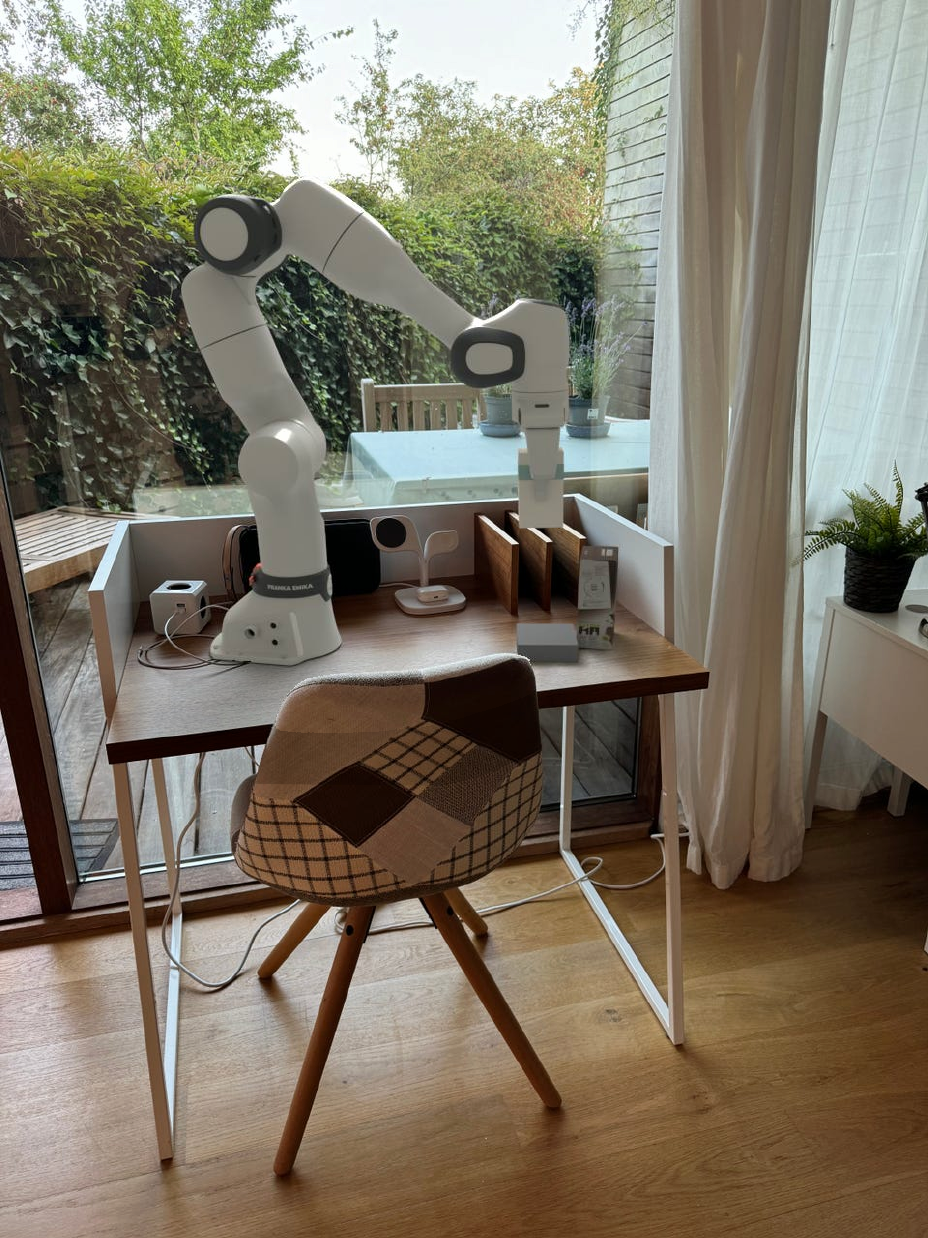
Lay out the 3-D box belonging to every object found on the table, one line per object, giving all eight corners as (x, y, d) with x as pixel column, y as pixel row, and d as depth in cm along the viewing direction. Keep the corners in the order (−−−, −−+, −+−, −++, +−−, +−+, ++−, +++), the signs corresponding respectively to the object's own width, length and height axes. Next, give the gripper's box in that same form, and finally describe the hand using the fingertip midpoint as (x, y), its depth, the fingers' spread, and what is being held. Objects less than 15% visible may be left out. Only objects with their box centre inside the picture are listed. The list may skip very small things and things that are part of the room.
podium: (517, 661, 147) (517, 645, 146) (516, 639, 156) (516, 623, 155) (577, 661, 146) (578, 645, 145) (572, 639, 156) (573, 623, 155)
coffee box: (612, 650, 151) (617, 560, 145) (575, 648, 152) (578, 558, 146) (615, 631, 159) (619, 545, 153) (579, 629, 160) (582, 544, 155)
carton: (519, 528, 141) (518, 453, 137) (518, 520, 146) (517, 447, 142) (563, 527, 141) (564, 452, 137) (561, 519, 146) (561, 446, 141)
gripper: (518, 401, 147) (519, 483, 152) (521, 418, 128) (522, 511, 132) (556, 400, 146) (555, 482, 151) (565, 416, 127) (564, 510, 132)
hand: (540, 496), depth 142 cm, fingers closed on carton, 5 cm apart
